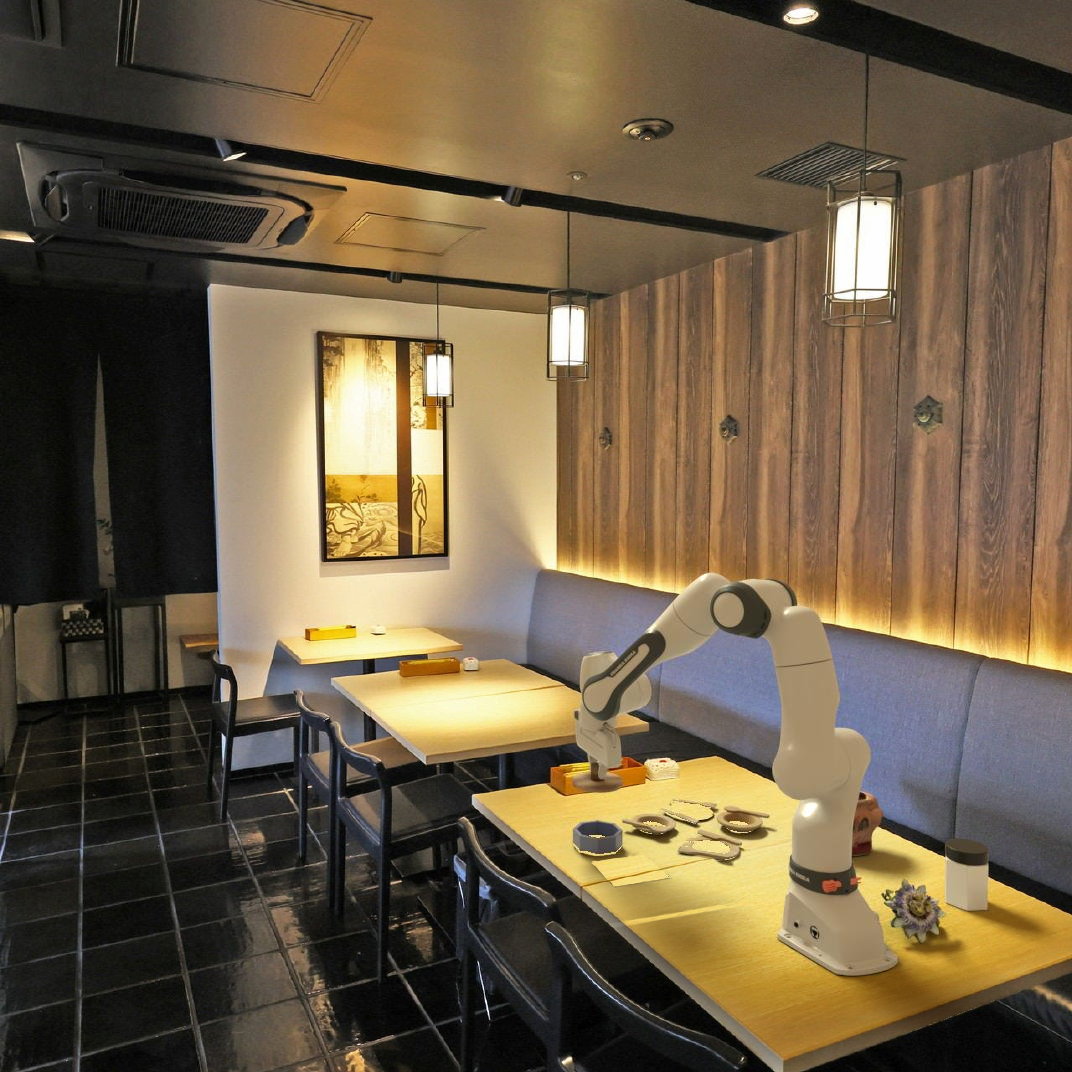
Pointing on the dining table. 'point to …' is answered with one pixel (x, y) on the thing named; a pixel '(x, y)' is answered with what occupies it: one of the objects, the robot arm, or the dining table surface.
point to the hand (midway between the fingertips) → (597, 775)
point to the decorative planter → (865, 823)
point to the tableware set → (722, 818)
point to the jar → (966, 874)
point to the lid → (597, 781)
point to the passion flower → (914, 910)
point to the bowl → (598, 845)
